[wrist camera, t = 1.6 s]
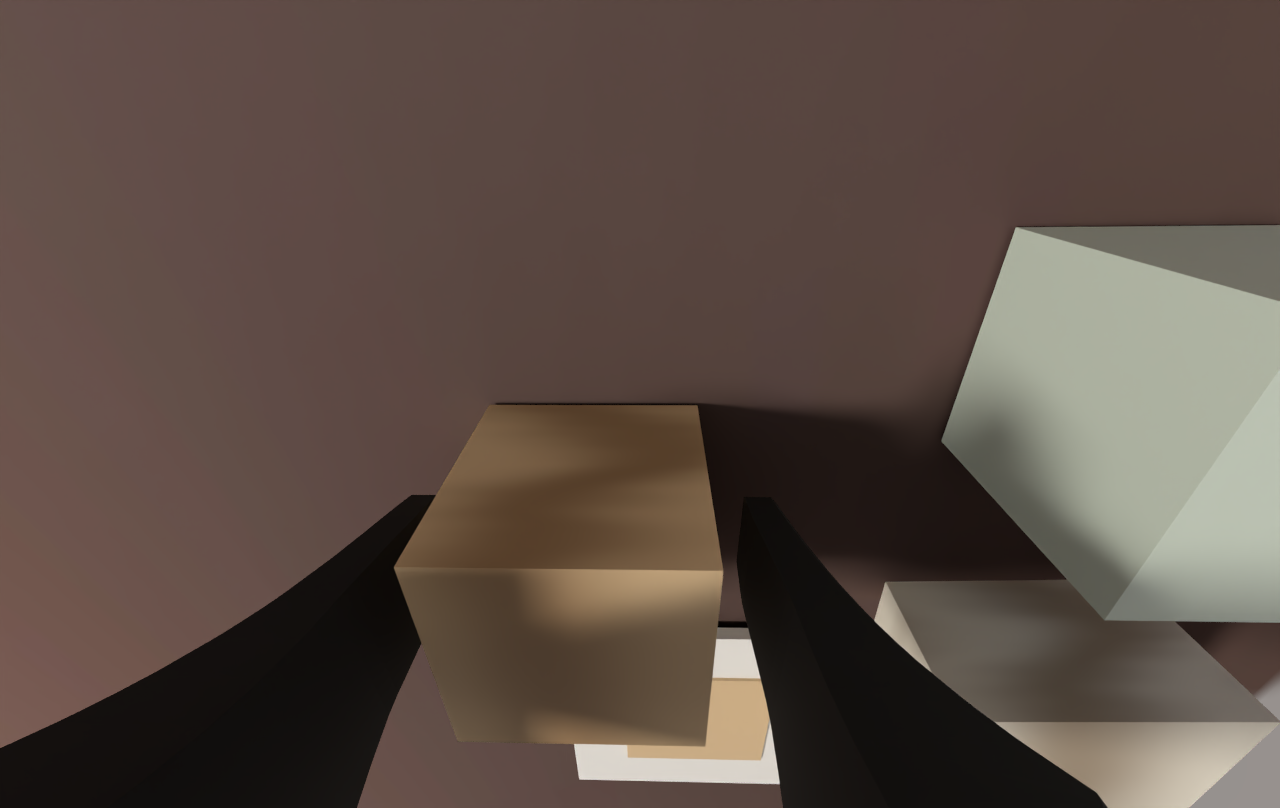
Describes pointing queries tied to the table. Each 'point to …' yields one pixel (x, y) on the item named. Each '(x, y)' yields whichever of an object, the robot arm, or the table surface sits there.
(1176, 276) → the sage cube
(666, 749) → the card
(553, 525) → the oak cube
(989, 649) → the base block
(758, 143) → the table surface
